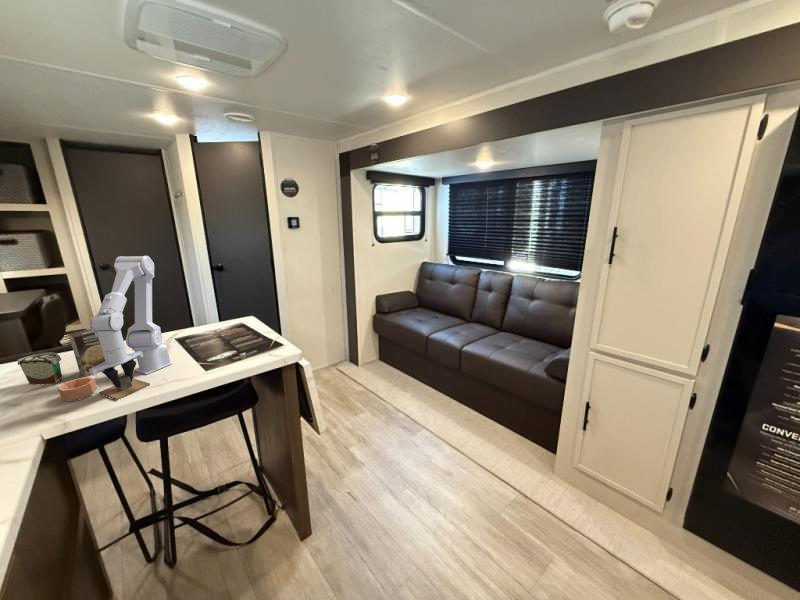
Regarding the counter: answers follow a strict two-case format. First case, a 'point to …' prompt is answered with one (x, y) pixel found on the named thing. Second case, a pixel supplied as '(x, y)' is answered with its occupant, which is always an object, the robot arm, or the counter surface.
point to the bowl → (77, 389)
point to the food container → (42, 368)
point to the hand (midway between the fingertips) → (123, 383)
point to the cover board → (126, 392)
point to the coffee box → (86, 350)
